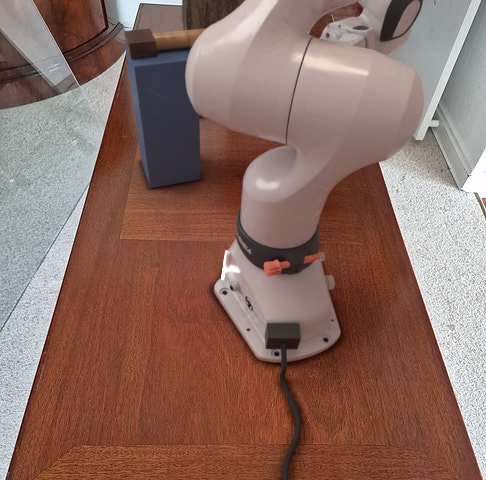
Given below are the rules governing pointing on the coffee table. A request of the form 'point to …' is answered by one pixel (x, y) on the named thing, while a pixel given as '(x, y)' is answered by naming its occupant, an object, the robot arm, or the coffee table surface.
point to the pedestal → (165, 118)
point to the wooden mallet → (158, 41)
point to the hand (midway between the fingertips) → (285, 64)
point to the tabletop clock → (206, 12)
